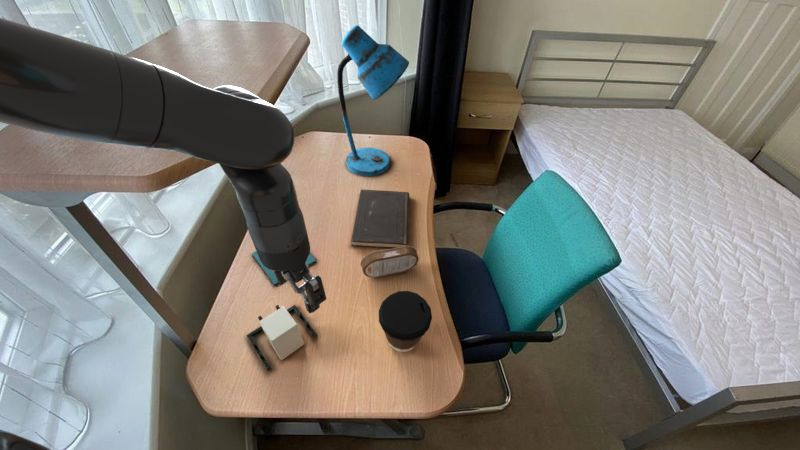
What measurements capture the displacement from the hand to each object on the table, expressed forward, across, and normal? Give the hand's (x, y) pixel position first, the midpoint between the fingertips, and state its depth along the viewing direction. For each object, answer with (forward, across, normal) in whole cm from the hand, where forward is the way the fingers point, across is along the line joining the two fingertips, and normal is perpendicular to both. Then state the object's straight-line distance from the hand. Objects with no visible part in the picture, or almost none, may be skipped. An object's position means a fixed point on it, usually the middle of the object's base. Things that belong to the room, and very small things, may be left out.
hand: (298, 294), depth 58 cm
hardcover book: (+19, -16, +39) cm, 46 cm away
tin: (+19, -1, +26) cm, 32 cm away
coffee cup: (+19, +14, +14) cm, 28 cm away
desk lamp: (+19, -39, +58) cm, 73 cm away
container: (+19, -4, -4) cm, 20 cm away
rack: (+19, -6, -4) cm, 21 cm away
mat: (+19, -25, +9) cm, 33 cm away
